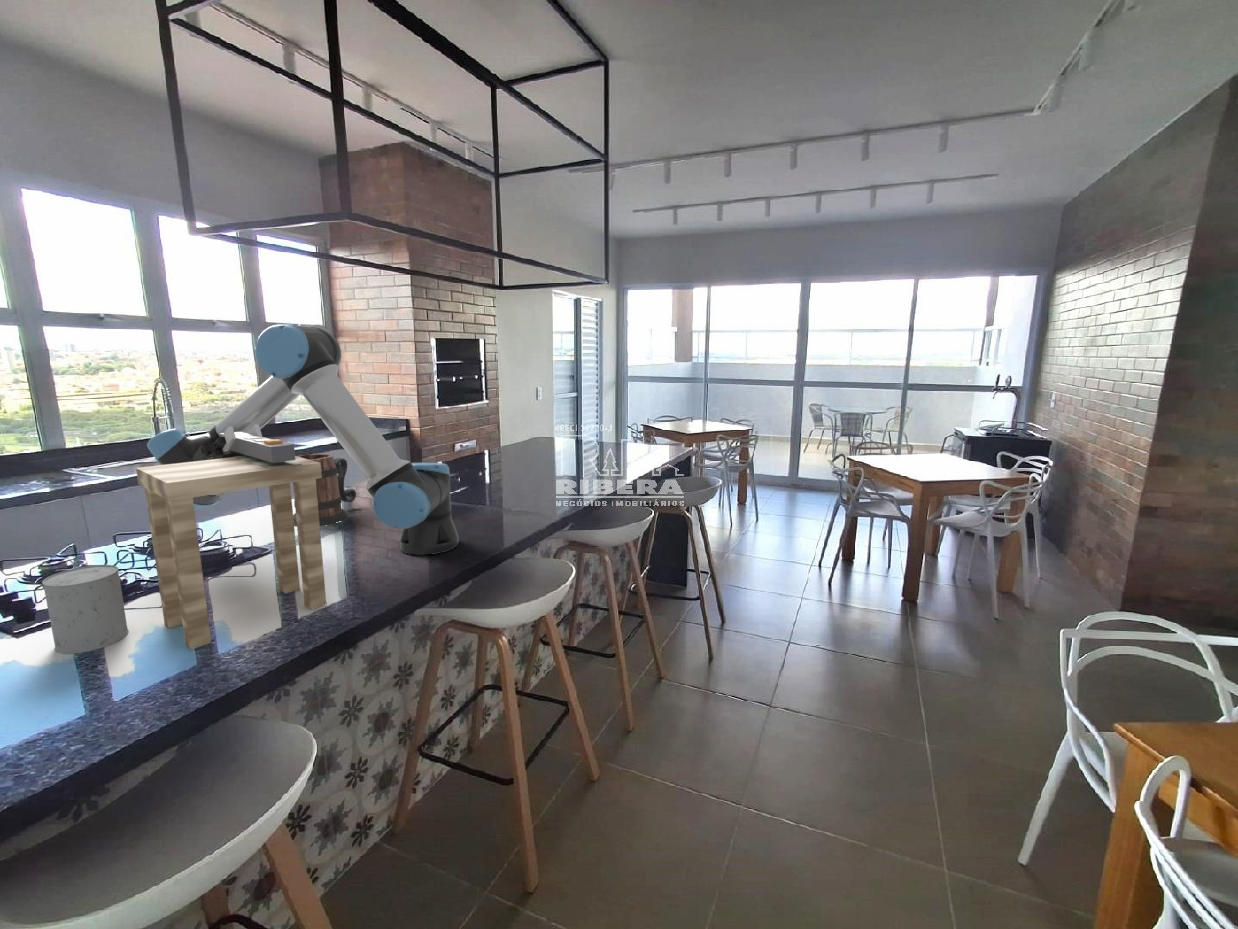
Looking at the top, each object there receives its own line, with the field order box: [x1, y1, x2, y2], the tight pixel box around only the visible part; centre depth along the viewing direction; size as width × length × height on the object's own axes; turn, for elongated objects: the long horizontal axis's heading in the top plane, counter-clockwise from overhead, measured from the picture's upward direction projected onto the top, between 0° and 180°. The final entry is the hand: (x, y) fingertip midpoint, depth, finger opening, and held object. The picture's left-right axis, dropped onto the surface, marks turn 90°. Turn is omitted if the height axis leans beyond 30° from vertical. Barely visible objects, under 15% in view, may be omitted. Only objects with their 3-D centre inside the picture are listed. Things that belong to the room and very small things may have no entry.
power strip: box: [219, 432, 296, 463], centre depth 110 cm, size 26×4×4 cm, turn 53°
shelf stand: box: [135, 455, 327, 650], centre depth 106 cm, size 18×24×30 cm
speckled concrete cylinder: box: [41, 564, 129, 655], centre depth 97 cm, size 10×10×12 cm
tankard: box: [293, 453, 357, 528], centre depth 173 cm, size 24×17×20 cm
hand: (245, 431), depth 112 cm, fingers closed on power strip, 4 cm apart
